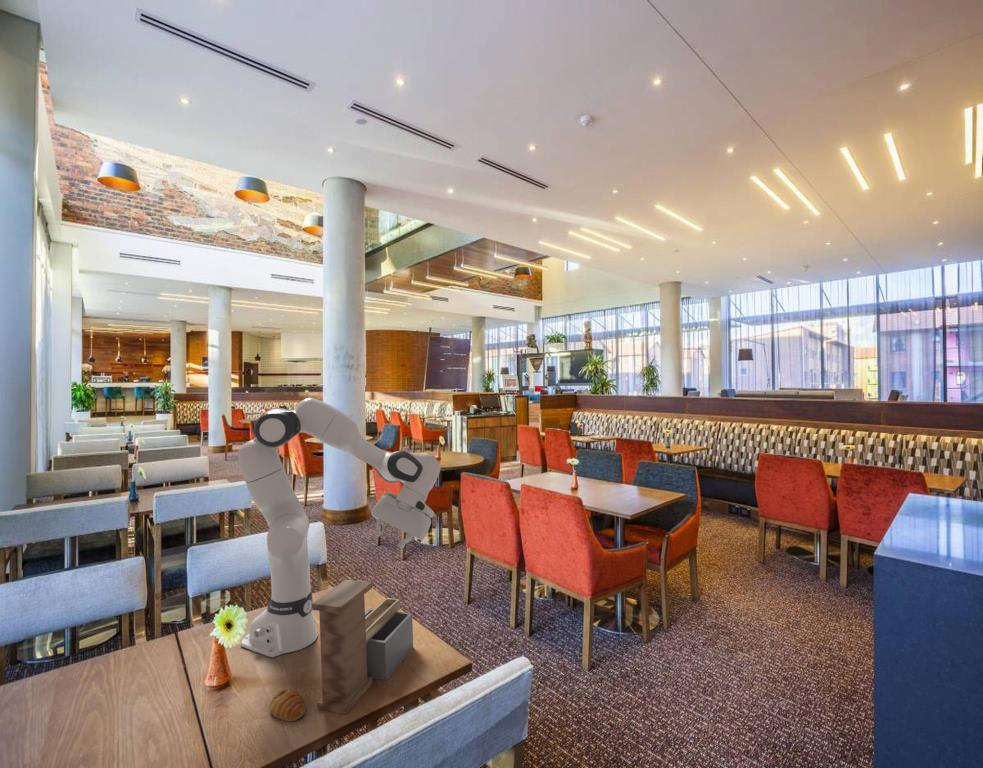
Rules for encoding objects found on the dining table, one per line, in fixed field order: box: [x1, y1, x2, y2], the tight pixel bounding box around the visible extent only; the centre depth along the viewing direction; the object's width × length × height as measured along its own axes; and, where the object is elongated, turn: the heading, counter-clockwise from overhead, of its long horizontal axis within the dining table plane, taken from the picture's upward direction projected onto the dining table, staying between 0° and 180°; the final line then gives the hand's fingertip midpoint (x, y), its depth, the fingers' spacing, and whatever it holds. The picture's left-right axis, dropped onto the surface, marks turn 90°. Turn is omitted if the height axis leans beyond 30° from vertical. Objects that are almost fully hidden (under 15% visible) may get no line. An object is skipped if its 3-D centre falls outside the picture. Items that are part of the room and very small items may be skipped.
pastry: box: [269, 688, 307, 722], centre depth 116 cm, size 9×7×4 cm
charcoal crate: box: [365, 608, 414, 681], centre depth 136 cm, size 14×16×10 cm
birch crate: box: [365, 597, 401, 643], centre depth 136 cm, size 4×19×3 cm, turn 163°
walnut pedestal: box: [312, 579, 373, 715], centre depth 122 cm, size 8×14×26 cm, turn 163°
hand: (388, 541), depth 150 cm, fingers open, 8 cm apart
